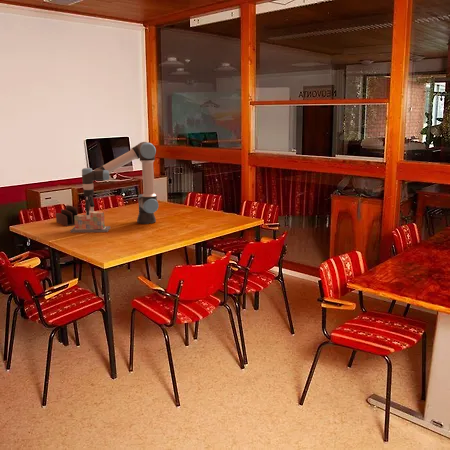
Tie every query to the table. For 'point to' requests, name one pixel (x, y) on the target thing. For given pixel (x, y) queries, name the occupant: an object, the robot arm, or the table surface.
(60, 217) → the letter holder
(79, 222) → the stack of blocks
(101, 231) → the base board
